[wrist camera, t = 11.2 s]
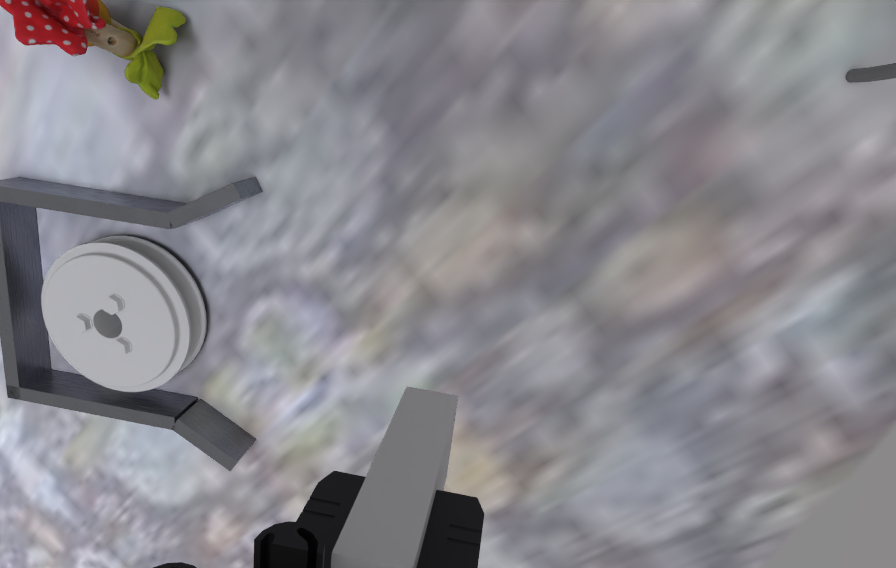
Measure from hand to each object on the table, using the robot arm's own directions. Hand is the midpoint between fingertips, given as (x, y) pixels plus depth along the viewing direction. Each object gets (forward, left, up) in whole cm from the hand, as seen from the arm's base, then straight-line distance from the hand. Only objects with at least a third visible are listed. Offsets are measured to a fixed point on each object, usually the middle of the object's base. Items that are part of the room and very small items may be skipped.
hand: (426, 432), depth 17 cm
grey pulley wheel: (+11, -29, -29) cm, 42 cm away
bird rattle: (-10, -28, -29) cm, 41 cm away
